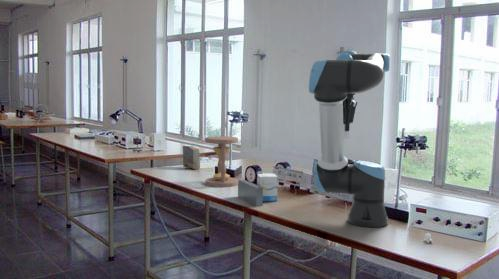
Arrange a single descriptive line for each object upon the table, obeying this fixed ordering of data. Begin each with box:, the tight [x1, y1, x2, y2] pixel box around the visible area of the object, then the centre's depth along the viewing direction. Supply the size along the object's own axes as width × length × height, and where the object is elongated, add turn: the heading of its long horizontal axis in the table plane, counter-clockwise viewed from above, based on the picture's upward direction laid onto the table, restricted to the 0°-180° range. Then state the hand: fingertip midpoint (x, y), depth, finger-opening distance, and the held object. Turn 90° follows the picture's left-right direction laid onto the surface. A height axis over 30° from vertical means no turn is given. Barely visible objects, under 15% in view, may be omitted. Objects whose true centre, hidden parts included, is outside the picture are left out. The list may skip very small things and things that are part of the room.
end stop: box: [237, 179, 264, 207], centre depth 214 cm, size 20×5×8 cm, turn 25°
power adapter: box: [423, 233, 434, 244], centre depth 158 cm, size 3×3×3 cm
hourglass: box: [204, 135, 239, 188], centre depth 251 cm, size 18×18×25 cm
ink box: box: [256, 172, 278, 202], centre depth 217 cm, size 8×8×12 cm
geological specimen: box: [182, 145, 201, 170], centre depth 298 cm, size 11×6×15 cm, turn 45°
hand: (345, 138), depth 213 cm, fingers closed
